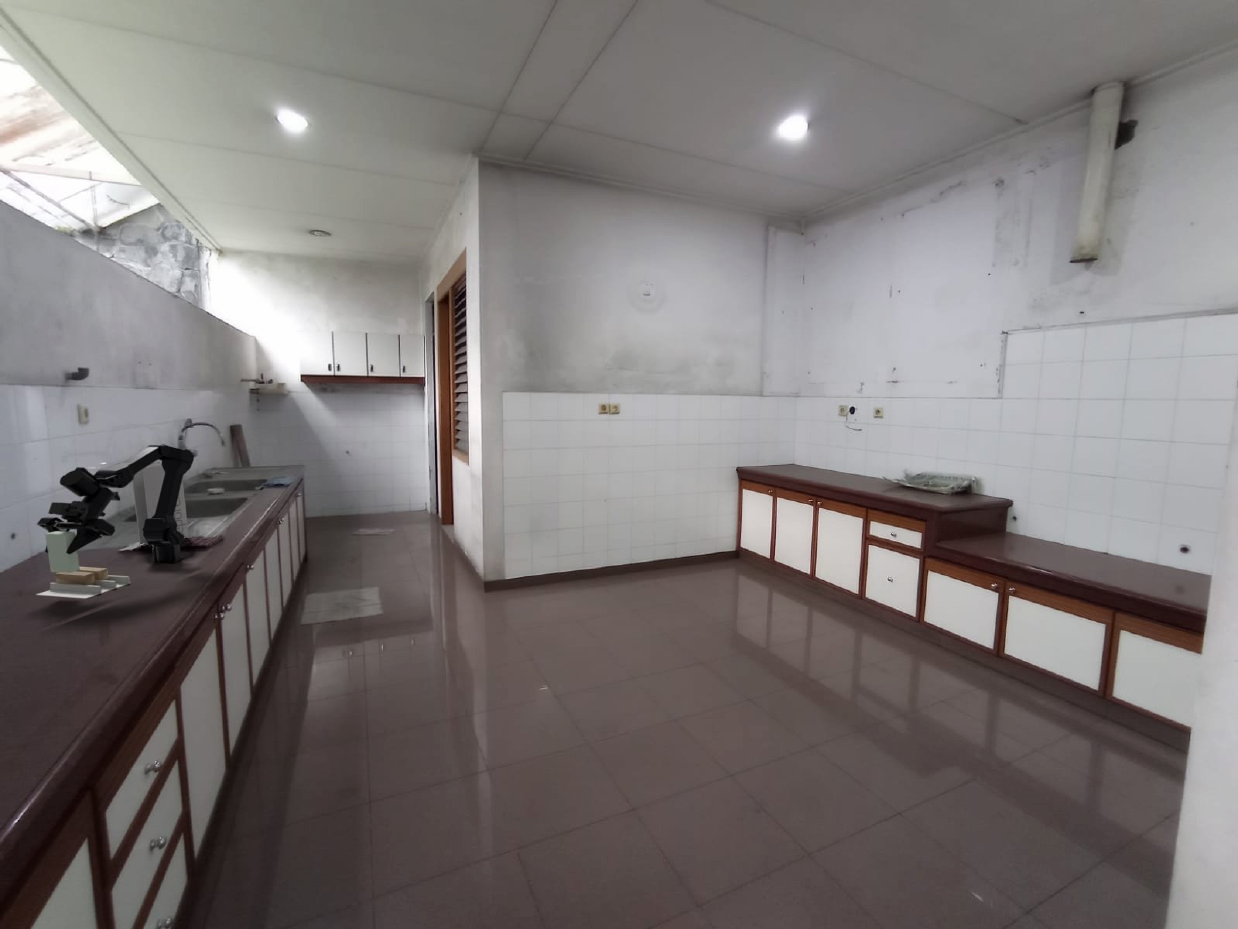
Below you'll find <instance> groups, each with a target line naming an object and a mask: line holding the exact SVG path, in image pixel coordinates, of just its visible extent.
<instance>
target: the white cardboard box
mask: <svg viewBox="0 0 1238 929" xmlns="http://www.w3.org/2000/svg"><path fill="white" fill-rule="evenodd" d="M161 464H162V462H160V463H152V464H150V465H149V466H147V467H145V468H144V469H142V470H141V471H139V472H138V473H136V474H135V475H134V479H133V480H132V481H131V483H132V491H133V499H134V508H135V516H136V525H137V531H138V532H137V533H138V542H139V545H140V544H143V543H146V542H147V541H146V539H145V537H144V536H143V531H142V529H143V527H144V523H145V520H146V518H152V517H153V516H154V515H155V512H156V508H157V504H158V500H159V496H160V492H161V488H162V483H163V479H164V475H165V472H164V469H163V467H162V465H161ZM185 499H186V498H185V489H184V479H183V478H182V482H181V487H180V491H179V495H178V499H177V504H176V508H175V512H174V518H175V520H176V523H177V531H178V532H180V533H181V534H182V535H184V536H185V537H189V528H188V519H187V518H188V517H187V516H188V515H187V506H186V500H185ZM189 538H190V537H189Z"/></svg>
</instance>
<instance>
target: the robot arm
mask: <svg viewBox="0 0 1238 929" xmlns="http://www.w3.org/2000/svg"><path fill="white" fill-rule="evenodd" d="M158 460H159V461H161V463H162V464H161V465H162V467H163V469H164V472H165V475H164V479H163V483H162V488H161V492H160V496H159V500H158V504H157V508H156V512H155V515H154V516H153V517H152V518H146V520H145V523H144V527H143V529H142V531H143V536H144V537H145V539H146V541H147V543H148V546H151V545H153V548H152V550H151V551H152V559H153V561H152V563H155V564H156V563H157V564H166V565H167V564H168V565H169V564H174V563H177V562H178V561H180V560H184V558H185V557H184V556H182V555H181V547H180V545H181V544H183V543H184V542H185V540H184V537H185V536H184V535H182V534H181V533H180V532H178V531H177V523H176V520H175V518H174V512H175V508H176V504H177V499H178V495H179V491H180V487H181V482H182V478H183V477H184V475H185V474H186V473H187V472H188V471H189V470H190V469H191V468H192V464H193V462H194V460H195V455H194V454H193V451H191V449H187V448H184V449H183V448H178V447H174V446H169V445H168V444H164V443H152V444H148V445H147V447H146V448H144V449H143V450H141V451H139V452H137V453H135V454H134V455H133V456H130V457H129V458H127V459H125V460H124V461H122V462H120V463H118V464H113V465H109V466H106V467H104V468H101V469H98V470H96V472H95V474H92V473H91V472H90V471H89V470H88V469H86V467H84V466H83V467H82V466H81V467H76V468H75V469H74V470H71V471H69V472H66V474H64V475H62V476H61V477H60V479H59V484H60V486H62V487H63V488H64V489H66V490H68V491H69V492H71V493H72V494H73V495H76V497H79V498H80V497H83V498H82V499H81V500H72V502H58V501H57V502H56V501H55V502H54V501H53V502H51V504H50V506H49V510H48V512H47V513H48V514H49V515H56V516H44V517H41V518H40V519H39V520H38V522H37V523H36V525H37V526H39V527H41V528H42V529H44V530H46V531H47V533H50V532H54V531H60V532H71V531H70V530H76V534H75V538H74V539H73V541H72V543H71V544H70V546H69V547H68V549H67V551H66V553H67V554H72V553H73V552H75V551H77V552H78V550H80V549H82V548H84V547H86V546H87V545H89V544H90V543H92V542H93V543H94V542H95V541H96V540H98V539H102V538H103V537H112V536H113V535H114V534H115V532H116V526H114V525H113V524H112V523H110V522H108V521H107V520H105V519H104V518H102V517H105V515H107V514H106V512H104V511H105V509H106V508H107V507H108V506H109V504H110V503H111V501H116V502H118V501H119V502H120V501H121V497H120V495H119V492H118V491H113V490H111V489H124V488H125V487H127V486H128V485H129V484H131V483H132V480H133V479H134V475H135V474H136V473H138V472H139V471H141V470H142V469H144V468H145V467H147V466H149V465H151V464H154V463H155V462H156V461H158ZM57 515H58V516H61V518H59V517H57ZM62 519H63V520H62ZM64 520H65V521H64ZM45 546H46V547H45V550H44V552H45V553H46V554H48V549H47V544H45Z"/></svg>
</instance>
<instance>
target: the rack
mask: <svg viewBox="0 0 1238 929" xmlns="http://www.w3.org/2000/svg"><path fill="white" fill-rule="evenodd" d="M108 577H109V581H108V580H95V586H93V585H79V584H65V583H56V582H49V590H46V591H44V592H43V591H42V592H40V593H36V594H35V595H36V596H44V597H45V596H47V597H62V598H73V599H88V598H90V597H94V596H97V595H99V594H103V593H106V592H109V591H111V590H114V589H117V588H120V587H123V586H127V585H129V584H131V583H132V582H131V579H130V576H126V575H114V574H113V575H111V574H110V575H109V574H108Z"/></svg>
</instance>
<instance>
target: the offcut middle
mask: <svg viewBox="0 0 1238 929" xmlns="http://www.w3.org/2000/svg"><path fill="white" fill-rule="evenodd" d="M54 577H55V583H65V584H79V585H93V586H95V578H94V573H91V572H76V571H75V572H71V573H63V572H54Z"/></svg>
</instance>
